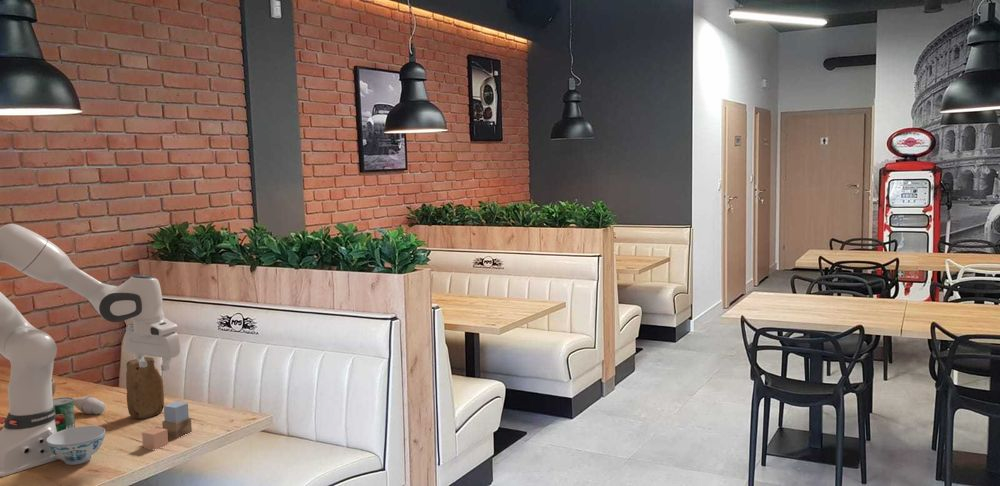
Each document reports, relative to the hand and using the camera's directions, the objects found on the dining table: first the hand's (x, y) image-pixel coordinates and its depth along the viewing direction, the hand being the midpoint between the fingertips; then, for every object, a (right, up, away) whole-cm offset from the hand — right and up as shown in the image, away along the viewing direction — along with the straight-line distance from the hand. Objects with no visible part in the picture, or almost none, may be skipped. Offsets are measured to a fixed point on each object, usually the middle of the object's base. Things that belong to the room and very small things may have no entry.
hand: (154, 368), depth 232 cm
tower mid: (+5, -17, +5) cm, 19 cm away
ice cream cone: (-37, -21, +28) cm, 51 cm away
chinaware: (-16, -25, -14) cm, 33 cm away
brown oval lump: (-14, -21, +25) cm, 35 cm away
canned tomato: (-33, -23, +7) cm, 41 cm away
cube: (+2, -23, -4) cm, 24 cm away
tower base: (+5, -22, +6) cm, 24 cm away
